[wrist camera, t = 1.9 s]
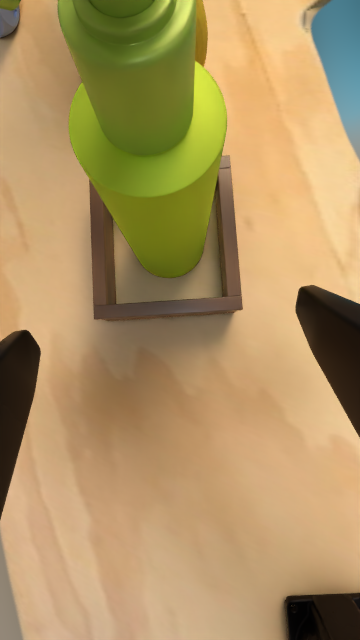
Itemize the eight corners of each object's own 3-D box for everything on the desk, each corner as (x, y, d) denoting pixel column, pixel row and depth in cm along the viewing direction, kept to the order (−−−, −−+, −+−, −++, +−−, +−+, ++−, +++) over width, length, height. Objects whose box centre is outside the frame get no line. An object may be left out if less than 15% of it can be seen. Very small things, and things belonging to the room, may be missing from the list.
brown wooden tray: (235, 314, 22) (242, 309, 19) (106, 322, 23) (93, 319, 20) (224, 179, 23) (229, 155, 20) (101, 188, 24) (88, 166, 21)
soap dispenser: (116, 269, 23) (-352, -200, 3) (155, 199, 23) (-31, -644, 3) (177, 301, 23) (115, 19, 3) (215, 229, 23) (414, -494, 3)
